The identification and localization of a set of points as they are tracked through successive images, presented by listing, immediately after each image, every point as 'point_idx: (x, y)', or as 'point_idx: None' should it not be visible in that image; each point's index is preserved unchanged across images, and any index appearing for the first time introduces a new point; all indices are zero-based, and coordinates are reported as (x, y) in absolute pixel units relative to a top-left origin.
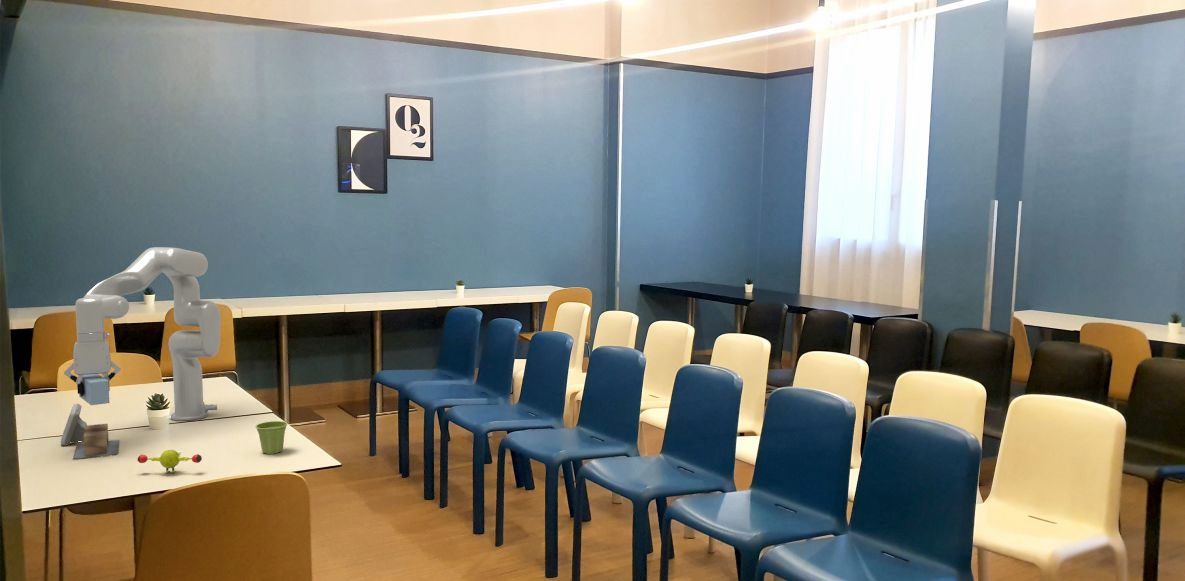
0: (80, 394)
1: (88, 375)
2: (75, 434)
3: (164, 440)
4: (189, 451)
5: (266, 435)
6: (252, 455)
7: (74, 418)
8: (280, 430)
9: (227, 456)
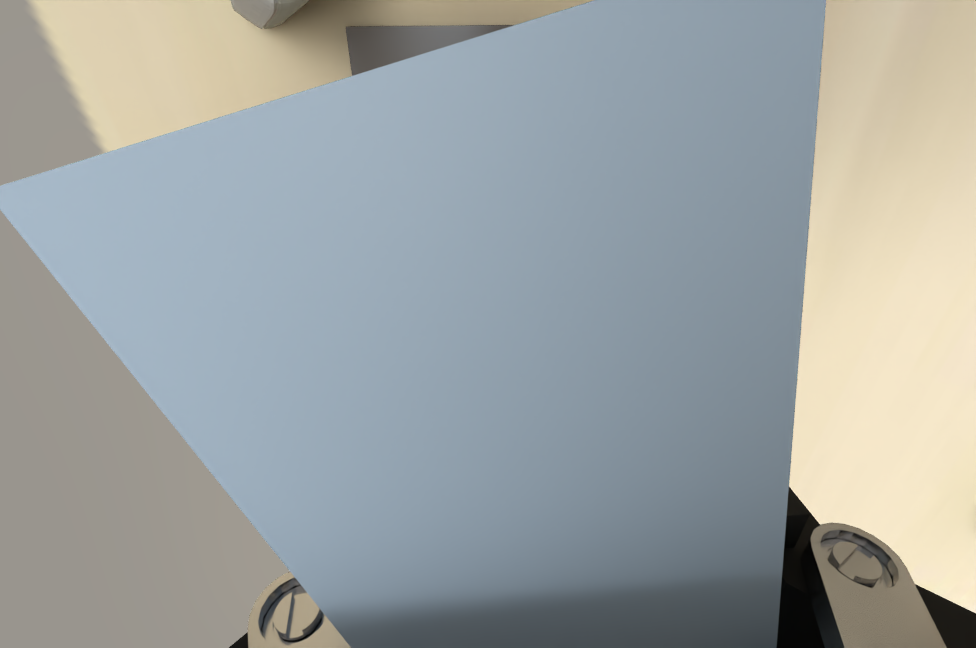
0: None
1: (487, 472)
2: None
3: (825, 148)
4: (832, 393)
5: None
6: (962, 498)
7: (288, 11)
8: None
9: (899, 487)
